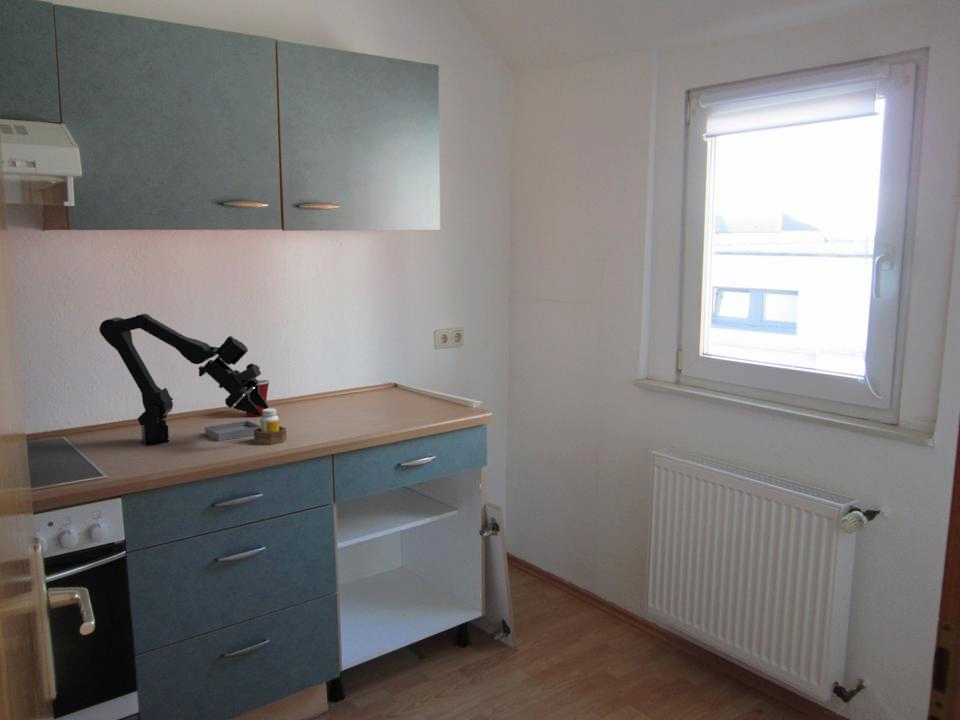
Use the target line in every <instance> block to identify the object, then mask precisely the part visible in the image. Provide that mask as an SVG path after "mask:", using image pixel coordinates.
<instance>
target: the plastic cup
mask: <svg viewBox="0 0 960 720" xmlns="http://www.w3.org/2000/svg"><path fill="white" fill-rule="evenodd" d="M257 380H258V381H259V383H258V384H260V386H259V392H260V394H261V395H262V397H263V399H264V400H265V402H266V403H267V398H268V390H269V384H270V382H271V381H270V380H269V379H257ZM258 384H257V385H258ZM257 385H256V386H257ZM256 386H255V387H256ZM254 405H255V404H254ZM255 406H256V407H257V408H258V409H259V411H260V412H261V415H260V417H263V416H264V415H263V410H264V408H262V407H260V406H257V405H255ZM245 414H246V416H247V417H248V416H249V418H258V417H259V416H257V415H254V414H251V413H248V412H245Z"/></svg>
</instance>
